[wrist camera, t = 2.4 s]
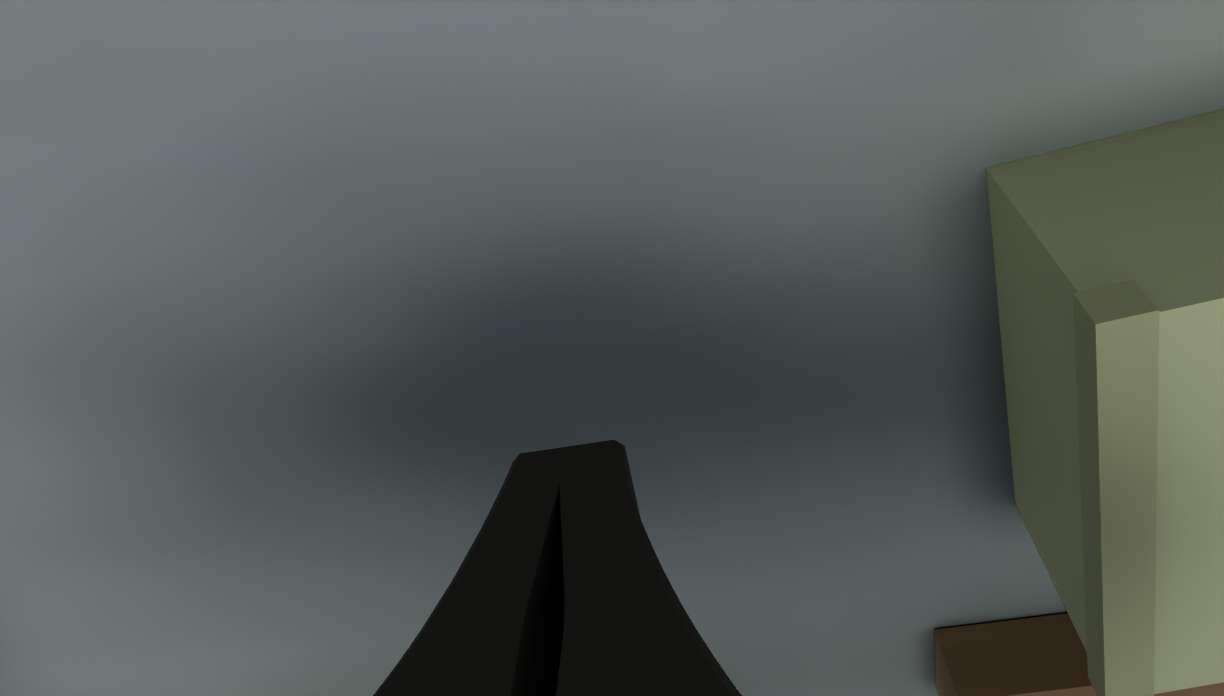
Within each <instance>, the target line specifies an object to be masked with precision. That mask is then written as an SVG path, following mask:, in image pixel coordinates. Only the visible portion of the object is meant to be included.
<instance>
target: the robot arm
mask: <svg viewBox="0 0 1224 696" xmlns="http://www.w3.org/2000/svg"><path fill="white" fill-rule="evenodd" d="M373 696H742V695H741V694H740V693H739V691H738V690H737V689H736V687H735V686H734V685H733V683H732V682H731V680H730V679H729V678H728V676H727V675H726V673H725V672H724V670H723V669H722V668H721V666H720V665H719V663H718V662H717V660H716V659H715V658H714V656H713V655H712V653H711V651H710V650H709V648H708V647H707V645H706V644H705V642H704V641H703V639H702V638H701V636H700V634H699V633H698V631H697V630H696V628H695V626H694V625H693V623H692V621H691V620H690V618H689V616H688V615H687V613H686V611H685V609H684V608H683V606H682V604H681V602H680V601H679V599H678V597H677V595H676V593H675V591H674V590H673V588H672V586H671V584H670V582H669V580H668V578H667V576H666V574H665V572H664V570H663V568H662V566H661V564H660V562H659V560H658V558H657V556H656V554H655V551H654V549H653V547H652V545H651V542H650V540H649V538H648V536H647V533H646V531H645V529H644V527H643V524H642V521H641V519H640V514H639V510H638V505H637V500H636V496H635V491H634V487H633V482H632V478H631V473H630V469H629V464H628V459H627V455H626V450H625V446H624V445H622V444H620V443H619V442H617V441H615V440H610V441H603V442H596V443H590V444H583V445H576V446H569V447H562V448H555V449H548V450H541V451H534V452H527V453H521V454H519V455H518V456H517V458H516V459H515V460H514V461H513V463H512V465H511V468H510V470H509V472H508V474H507V477H506V479H505V481H504V483H503V485H502V488H501V490H500V492H499V494H498V496H497V498H496V500H495V502H494V504H493V506H492V508H491V510H490V512H489V514H488V516H487V518H486V520H485V522H484V524H483V526H482V528H481V530H480V532H479V534H478V535H477V537H476V539H475V541H474V543H473V544H472V546H471V548H470V550H469V552H468V554H467V555H466V557H465V559H464V561H463V563H462V564H461V566H460V568H459V570H458V572H457V573H456V575H455V577H454V578H453V580H452V582H451V584H450V585H449V587H448V588H447V590H446V592H445V593H444V595H443V596H442V598H441V599H440V601H439V603H438V604H437V606H436V607H435V609H434V610H433V612H432V614H431V615H430V617H429V618H428V620H427V622H426V623H425V625H424V626H423V628H422V629H421V631H420V632H419V634H418V635H417V637H416V638H415V640H414V641H413V643H412V644H411V645H410V647H409V648H408V650H407V651H406V653H405V654H404V655H403V657H402V658H401V660H400V661H399V662H398V664H397V665H396V666H395V668H394V669H393V670H392V672H391V673H390V674H389V676H388V677H387V678H386V680H385V681H384V682H383V684H382V685H381V686H380V687H379V689H378V690H377V691H376V693H375V694H374V695H373Z"/></svg>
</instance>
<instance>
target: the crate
mask: <svg viewBox="0 0 1224 696" xmlns="http://www.w3.org/2000/svg"><path fill="white" fill-rule="evenodd" d="M986 171H987V182H988V194H989V206H990V217H991V229H992V240H993V252H994V264H995V275H996V287H997V298H998V310H999V321H1000V333H1001V345H1002V356H1003V368H1004V379H1005V391H1006V402H1007V414H1008V426H1009V437H1010V449H1011V460H1012V472H1013V483H1014V495H1015V504H1016V506H1017V509H1018V511H1019V513H1020V515H1021V517H1022V519H1023V521H1024V523H1025V525H1026V527H1027V529H1028V531H1029V533H1030V536H1031V538H1032V540H1033V542H1034V544H1035V546H1036V548H1037V550H1038V552H1039V554H1040V556H1041V558H1042V560H1043V563H1044V565H1045V567H1046V569H1047V571H1048V573H1049V575H1050V577H1051V579H1052V581H1053V583H1054V585H1055V587H1056V590H1057V592H1058V594H1059V596H1060V598H1061V600H1062V602H1063V604H1064V606H1065V608H1066V610H1067V612H1068V614H1069V617H1070V619H1071V621H1072V623H1073V625H1074V627H1075V629H1076V631H1077V633H1078V635H1079V637H1080V639H1081V641H1082V644H1083V646H1084V648H1085V650H1086V652H1087V664H1088V678H1089V680H1090V682H1091V684H1092V686H1093V688H1094V690H1095V693H1096V695H1097V696H1154V694H1158V693H1164V692H1170V691H1176V690H1182V689H1188V688H1193V687H1199V686H1205V685H1211V684H1217V683H1222V682H1224V109H1222V110H1218V111H1214V112H1210V113H1206V114H1202V115H1198V116H1194V117H1190V118H1186V119H1182V120H1178V121H1174V122H1169V123H1165V124H1161V125H1157V126H1153V127H1149V128H1145V129H1141V130H1137V131H1133V132H1129V133H1125V134H1121V135H1117V136H1113V137H1109V138H1105V139H1101V140H1097V141H1093V142H1089V143H1085V144H1080V145H1076V146H1072V147H1068V148H1064V149H1060V150H1056V151H1052V152H1048V153H1044V154H1040V155H1036V156H1032V157H1028V158H1024V159H1020V160H1016V161H1012V162H1008V163H1004V164H1000V165H995V166H991V167H987V168H986Z"/></svg>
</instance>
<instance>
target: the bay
mask: <svg viewBox="0 0 1224 696" xmlns="http://www.w3.org/2000/svg"><path fill="white" fill-rule="evenodd" d="M935 686H936V689H937V692H938V695H939V696H1097V695H1096V693H1095V690H1094V688H1093V686H1092V684H1091V682H1090V680H1089V678H1088V664H1087V652H1086V650H1085V648H1084V646H1083V644H1082V641H1081V639H1080V637H1079V635H1078V633H1077V631H1076V629H1075V627H1074V625H1073V623H1072V621H1071V619H1070V617H1069V614H1068V613H1066V614H1058V615H1050V616H1042V617H1034V618H1026V619H1018V620H1009V621H1001V622H993V623H985V624H977V625H969V626H961V627H953V628H945V629H936V630H935ZM1154 696H1224V682H1222V683H1217V684H1211V685H1205V686H1199V687H1193V688H1188V689H1182V690H1176V691H1170V692H1164V693H1158V694H1154Z"/></svg>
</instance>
